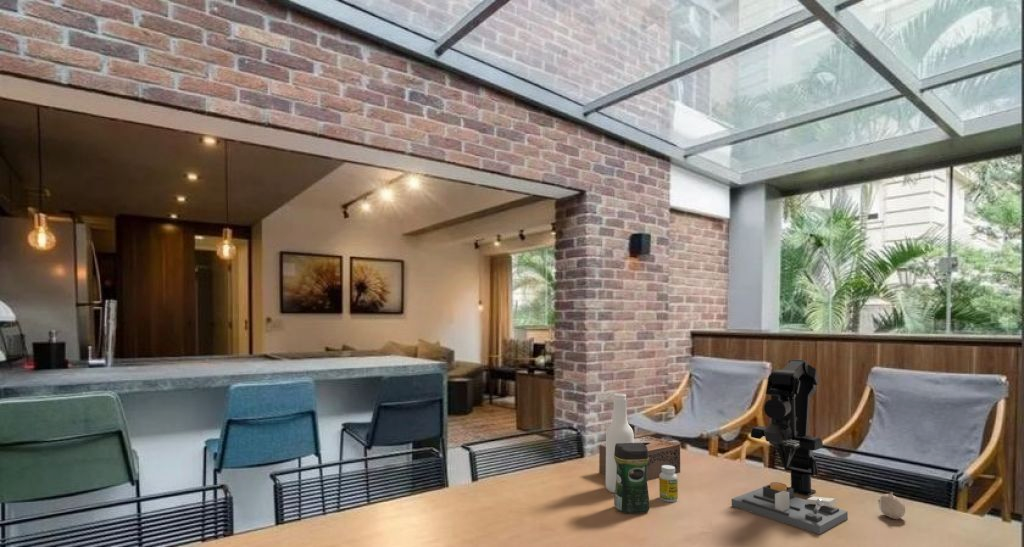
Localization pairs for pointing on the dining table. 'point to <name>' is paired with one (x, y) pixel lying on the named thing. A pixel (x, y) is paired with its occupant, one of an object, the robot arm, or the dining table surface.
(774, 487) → the push button
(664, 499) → the supplement bottle
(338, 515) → the dining table surface
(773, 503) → the panel
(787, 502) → the grey angular block
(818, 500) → the toggle lever
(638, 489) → the coffee jar
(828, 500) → the white slab
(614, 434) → the alcohol
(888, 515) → the garlic bulb
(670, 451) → the tissue box cover
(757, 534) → the dining table surface
